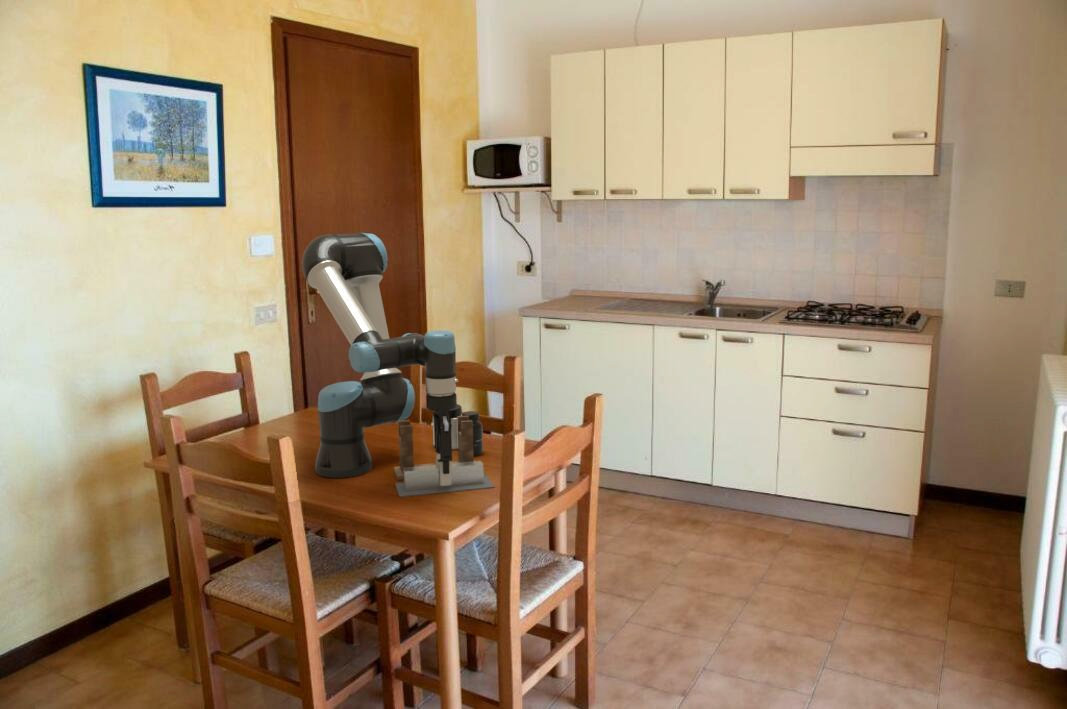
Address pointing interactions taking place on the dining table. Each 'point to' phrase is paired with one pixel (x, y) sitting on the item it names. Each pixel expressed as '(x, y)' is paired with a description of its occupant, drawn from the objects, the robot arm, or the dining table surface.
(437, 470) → the rail
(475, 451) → the supplement bottle
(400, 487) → the mat
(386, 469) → the dining table surface
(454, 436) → the jar
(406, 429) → the stand
